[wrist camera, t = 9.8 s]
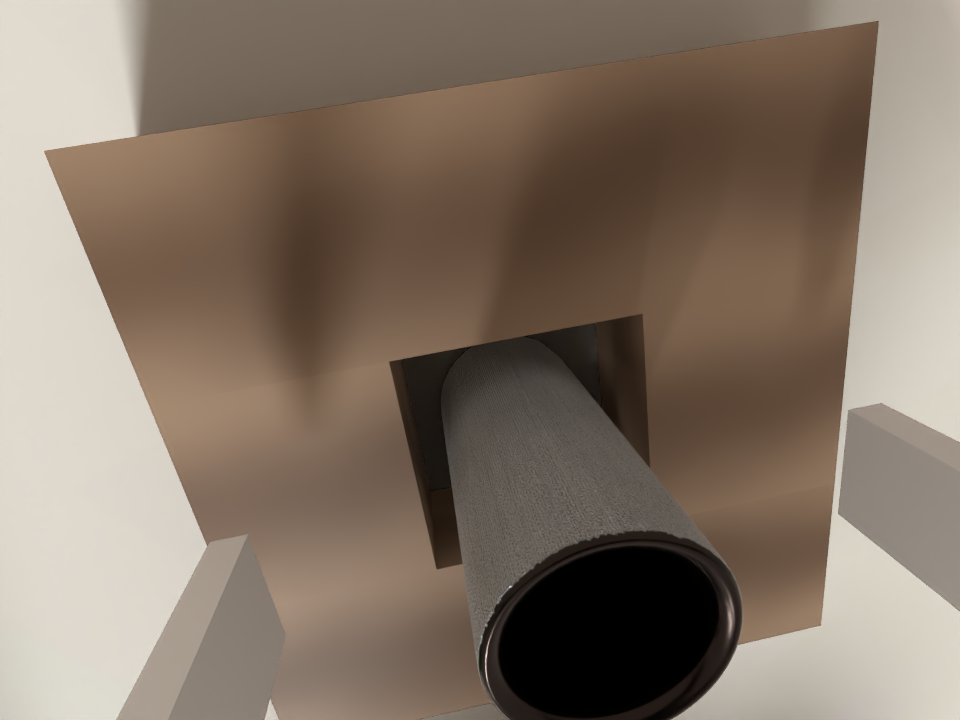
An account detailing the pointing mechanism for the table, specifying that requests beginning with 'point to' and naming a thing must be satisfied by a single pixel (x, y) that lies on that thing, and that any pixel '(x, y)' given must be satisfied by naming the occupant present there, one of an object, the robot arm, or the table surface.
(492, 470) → the grey metal tube
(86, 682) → the table surface
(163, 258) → the socket board
